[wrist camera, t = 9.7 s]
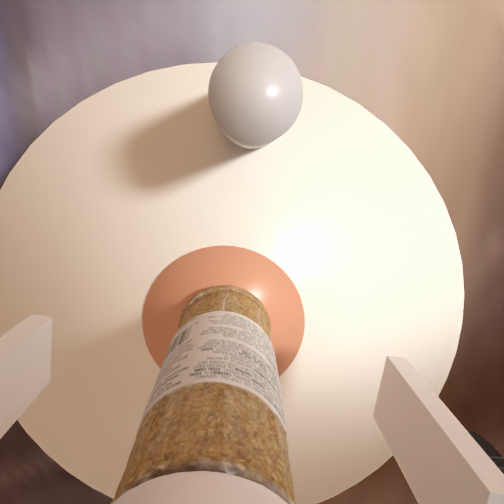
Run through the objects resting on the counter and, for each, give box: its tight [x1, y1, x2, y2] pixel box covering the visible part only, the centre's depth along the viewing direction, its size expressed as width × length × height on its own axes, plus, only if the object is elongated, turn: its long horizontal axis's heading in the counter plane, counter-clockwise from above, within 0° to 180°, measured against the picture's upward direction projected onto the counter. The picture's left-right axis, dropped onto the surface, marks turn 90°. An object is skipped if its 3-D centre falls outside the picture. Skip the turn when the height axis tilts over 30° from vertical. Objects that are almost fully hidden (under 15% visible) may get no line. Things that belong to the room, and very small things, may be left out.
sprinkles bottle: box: [110, 285, 296, 504], centre depth 13 cm, size 5×4×13 cm
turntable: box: [0, 43, 464, 504], centre depth 18 cm, size 24×24×7 cm
